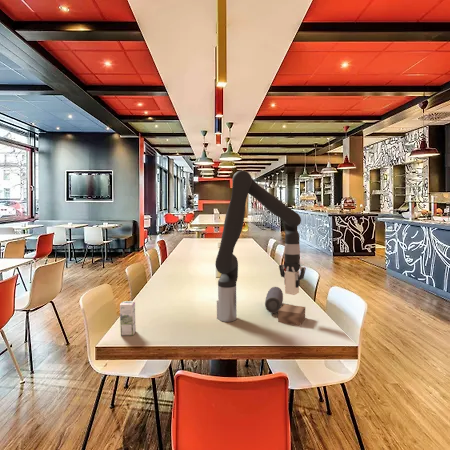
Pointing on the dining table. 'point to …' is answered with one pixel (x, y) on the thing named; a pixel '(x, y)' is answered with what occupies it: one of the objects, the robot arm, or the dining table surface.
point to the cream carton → (290, 283)
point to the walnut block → (291, 314)
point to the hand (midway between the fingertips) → (292, 286)
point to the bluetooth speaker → (274, 299)
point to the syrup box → (127, 318)
